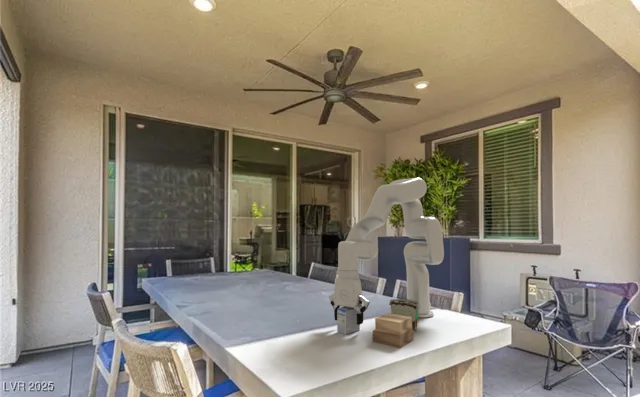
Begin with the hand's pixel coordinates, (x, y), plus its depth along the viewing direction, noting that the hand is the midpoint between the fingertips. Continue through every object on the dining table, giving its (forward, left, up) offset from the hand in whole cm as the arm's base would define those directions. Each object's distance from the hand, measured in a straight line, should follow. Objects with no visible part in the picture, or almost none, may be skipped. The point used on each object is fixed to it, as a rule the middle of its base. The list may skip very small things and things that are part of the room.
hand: (348, 321), depth 132 cm
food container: (-18, +15, -4) cm, 24 cm away
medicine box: (0, 0, -4) cm, 4 cm away
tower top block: (0, +18, 0) cm, 18 cm away
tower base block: (0, +18, -4) cm, 18 cm away
